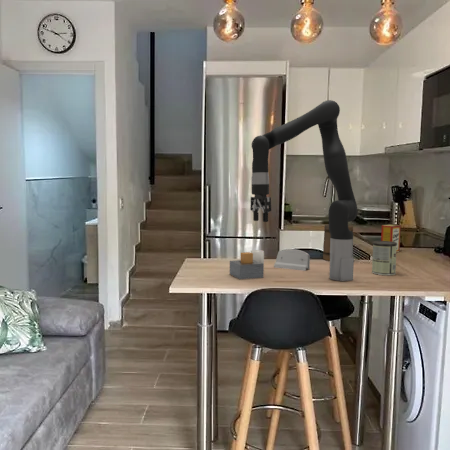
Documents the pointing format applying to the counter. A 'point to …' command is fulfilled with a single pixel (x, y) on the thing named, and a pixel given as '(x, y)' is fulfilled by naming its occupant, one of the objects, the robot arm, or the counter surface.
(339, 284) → the counter surface
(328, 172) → the robot arm
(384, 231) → the baking soda box
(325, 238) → the wooden container
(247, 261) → the square bit
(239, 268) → the block
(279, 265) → the grey curved-top upright plate
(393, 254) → the coffee can
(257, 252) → the round bit
